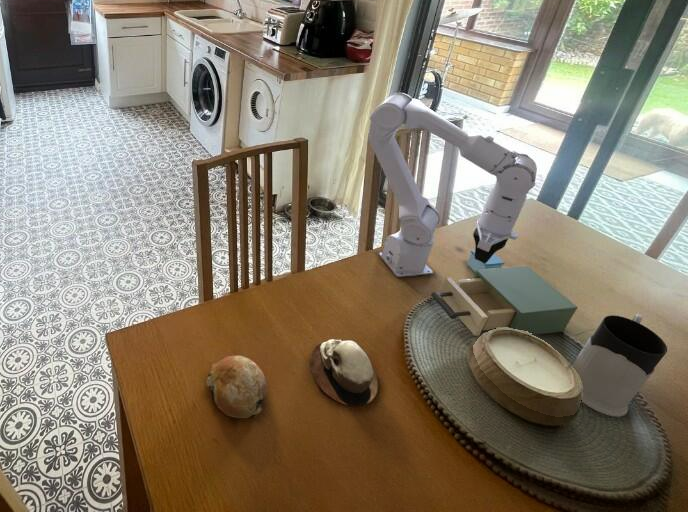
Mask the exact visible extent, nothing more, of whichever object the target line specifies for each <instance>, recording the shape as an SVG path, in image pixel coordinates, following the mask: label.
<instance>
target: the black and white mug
mask: <svg viewBox="0 0 688 512" xmlns="http://www.w3.org/2000/svg"><path fill="white" fill-rule="evenodd" d="M642 320H643V316H642V315H641V314H639V313H636V314H634V316H633V318H632V319H631V318H628V317H624V316H620V315H607V316H605V317H604V318H603V319H602V321H601V322H600V324H599V325H598V326H597V329H596V330H595V332H594V333H592V334H591V335H590V336H589V338H588V340H587V341H586V343H585V344H584V346H583V347H582V349H581V350H580V352H579V353H578V355H577V356H576V358H575V360H574V361H573V363H572V364H571V366H573V368H574V369H575V370H576V372H577V373H578V374H579V376H580V378H581V381H582V385H583V396H582V401H581V403H583V404H585V406H587V407H589V408H591V409H593V410H595V411H597V412H599V413H601V414H603V415H607V416H611V417H624V416H626V415H627V413H628V412H629V404H630V403H631V402H632V400H633V399H634V398H635V397H636V395H637V394H638V392H640V390H641V389H642V388H643V386H644V385H645V383H646V382H647V381H648V380H649V379H650V377H651V376H652V375H653V374H654V372H655V371H656V370H655V368H656V367H657V366H658V365H659V363H660V362H661V360H663V358H664V357H665V355H666V354H667V352H668V346H667V344H666V343H665V341H664V340H663V339H662V338H661V336H659V335H658V334H657V333H656V332H654V331H653V330H652V329H650V328H648V327H647V326H645V325H643V324H642V323H641V322H642Z"/></svg>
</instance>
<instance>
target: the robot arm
mask: <svg viewBox="0 0 688 512" xmlns="http://www.w3.org/2000/svg"><path fill="white" fill-rule="evenodd" d="M369 120H370V122H369V123H370V124H369V130H368V137H367V138H368V142H369V143H370V146H371V148H372V150H373V153H374V154H375V156H376V159H377V162H378V163H379V165H380V167H381V170H382V172H383V174H384V177H385V178H386V181H387V182H388V185H389V186H390V189H391V191H392V193H393V195H394V198H395V200H396V201H397V204H398V219H399V222H400V225H401V227H400V230H398V231H397V232H395V233H393V234H390V235H387V236H386V238H385V241H384V244H383V247H382V252H379V253H378V254H379V257H380V258H381V259H382V260H383V261H384V262H385V264H386V265H387V266H388V267H389V269H390V270H391V271H392V272H393V274H394V276H395V277H397V278H401V277H402V278H403V277H412V276H413V277H414V276H424V275H432V274H433V272H434V271H433V270H432V269H431V268H430V267H429V265H428V264H427V263H428V260H429V257H430V254H431V252H432V248H433V245H434V243H435V235H434V232H435V230H436V228H437V226H438V225H439V224H440V222H441V216H440V213H439V211H438V210H437V209H436V208H435V207H434V206H432V204H431V203H430V201H429V199H428V198H426V197H425V196H423V195H422V194H421V192H420V190H419V187H418V185H417V183H416V181H415V179H414V176H413V174H412V172H411V170H410V168H409V165H408V164H407V161H406V158H405V156H404V155H403V152H402V150H401V148H400V146H399V144H398V142H397V140H396V137H395V136H396V135H397V133H398V131H399V129H400V127H401V126H402V125H404V126H403V129H404V130H412V129H423V130H424V131H426V132H429V134H430V133H431V134H432V135H434V136H436V137H438V138H440V139H441V140H444V141H445V142H447V143H449V144H451V145H453V146H454V147H457V148H458V151H459V154H460V157H462V158H463V159H465V160H467V161H469V162H471V164H474V165H475V166H476V167H478V168H480V169H482V170H484V171H486V172H487V173H489V174H490V175H492V176H495V178H496V180H495V183H494V184H493V185H492V186H491V188H490V191H489V194H488V196H487V198H486V201H485V204H484V206H483V209H482V211H481V213H480V217H479V218H478V219H477V221H476V227H475V229H474V231H473V234H472V236H473V240H474V244H475V245H474V246H475V248H474V250H475V259H476V260H479V261H481V262H483V263H486V262H488V260H489V259H490V258H491V257H492V255H493V254H496V253H497V252H498V251H499V250H502V249H504V247H505V246H506V244H507V242H508V241H509V239H512V240H513V241H515V240H517V239H518V236H519V233H518V232H516V231H514V230H513V229H514V227H515V224H516V222H517V221H518V218H519V216H520V214H521V211H522V209H523V207H524V204H525V202H526V201H527V196H528V194H529V192H530V190H532V189H533V188H534V187H535V186H536V178H537V173H538V171H537V170H538V168H537V167H538V166H537V164H536V162H535V160H534V159H533V158H532V157H530V156H529V155H528V154H527V153H523V152H518V151H515V150H512V151H511V150H509V149H508V148H506V147H504V146H502V145H501V144H500V143H497V142H495V141H494V140H495V137H493V136H491V135H489V134H487V135H486V136H485V135H483V134H481V133H471V134H470V133H469V132H467V131H465V130H464V129H462V128H460V127H458V126H456V124H454V123H453V122H451V121H449V120H448V119H446V118H444V117H443V116H441V114H439V113H437V112H435V111H433V110H432V109H431V108H429V107H427V106H426V105H425V104H424V102H422V101H421V100H419V99H416V98H412V96H410V95H408V94H407V93H404V92H395V93H392V94H389V96H387V98H386V99H385V100H384V101H383V102H382V103H380V104H379V105H377V106H376V107H375V108H374V110H373V112H372V113H371V115H369Z"/></svg>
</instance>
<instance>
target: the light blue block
mask: <svg viewBox="0 0 688 512" xmlns="http://www.w3.org/2000/svg"><path fill="white" fill-rule="evenodd" d="M466 265H467V266H468V267H469V268H470V269H472V271H474V272H476V270H483V269H493V268H502V266H503V265H505V262H504V261H503V260H502V259H501V258H500V257H498V255H496V253H494V254H493V255H492V257H491V258H490V259H489V260H488V262H486V263H483V262H481V261H479V260H476V259H475V249H472V250H470V255H469V258H468V260H467V263H466Z"/></svg>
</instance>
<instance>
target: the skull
mask: <svg viewBox="0 0 688 512" xmlns="http://www.w3.org/2000/svg"><path fill="white" fill-rule="evenodd" d="M309 368H310V372H311V375H312V376H313V379H314V380H315V382H316V384H317V385H318V387H319V388H320V389H321V391H323V392H324V394H326V395H327V396H328V397H330V398H331V399H333V400H334V401H336V402H338V403H340V404H343V405H346V406H349V407H361V406H365V405H367V404H369V403H371V402H372V401H373V400H374V398H375V397H376V396H377V393H378V389H379V382H378V377H377V376H378V375H377V374H376V373H377V372H376V370H375V369H374V367H373V365H372V363H371V360H370V358H369V357H368V355H367V354H366V352H365V351H364V350H363V349H362V348H361V347H360V345H358V343H357V342H356V341H353V340H341V339H340V338H339V339H333V338H332V339H328V340H327V341H324V342H321V343H319V344H317V345H316V346H315V347H314V348H313V350H312V351H311V354H310V358H309Z"/></svg>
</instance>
